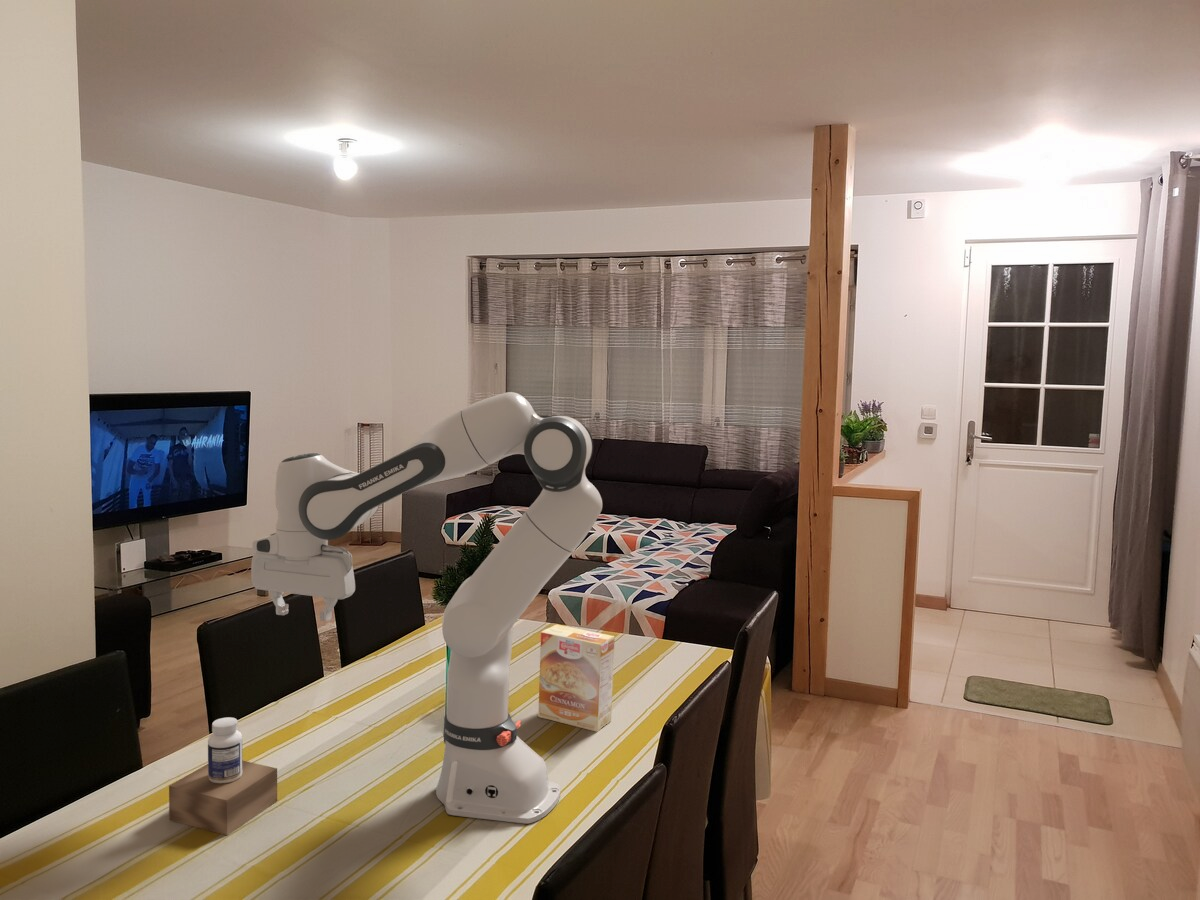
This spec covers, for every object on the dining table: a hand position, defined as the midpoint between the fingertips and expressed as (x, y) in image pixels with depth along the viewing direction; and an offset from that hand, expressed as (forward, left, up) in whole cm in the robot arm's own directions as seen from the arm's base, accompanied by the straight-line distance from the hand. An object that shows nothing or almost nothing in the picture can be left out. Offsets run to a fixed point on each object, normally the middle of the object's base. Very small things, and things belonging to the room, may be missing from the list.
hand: (303, 617), depth 161 cm
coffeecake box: (-37, -44, -30) cm, 65 cm away
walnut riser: (+4, +16, -30) cm, 34 cm away
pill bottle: (+4, +16, -24) cm, 29 cm away
